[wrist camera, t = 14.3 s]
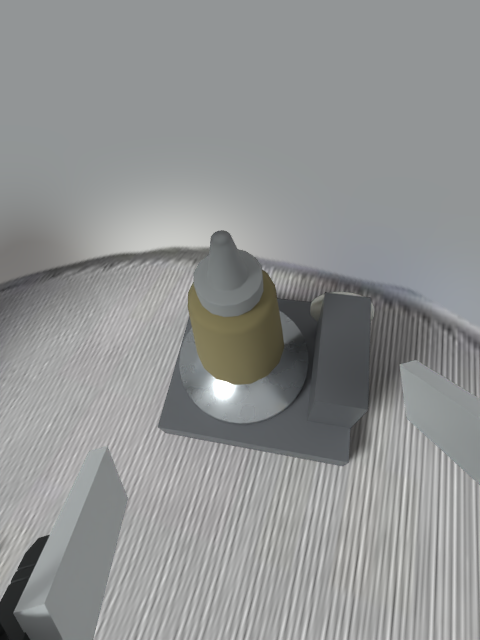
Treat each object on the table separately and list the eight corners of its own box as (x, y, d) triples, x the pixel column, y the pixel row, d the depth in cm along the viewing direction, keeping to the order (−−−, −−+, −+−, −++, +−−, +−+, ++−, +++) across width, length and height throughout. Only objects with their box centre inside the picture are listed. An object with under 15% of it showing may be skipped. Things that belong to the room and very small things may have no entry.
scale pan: (166, 412, 35) (163, 409, 35) (198, 299, 41) (196, 294, 40) (299, 435, 33) (300, 433, 32) (313, 313, 39) (314, 309, 38)
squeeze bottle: (300, 363, 36) (323, 245, 20) (234, 413, 34) (200, 327, 18) (250, 308, 39) (236, 168, 23) (188, 351, 37) (126, 231, 21)
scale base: (165, 432, 38) (133, 408, 29) (201, 301, 45) (184, 250, 36) (353, 468, 35) (381, 453, 26) (360, 321, 42) (383, 271, 33)
